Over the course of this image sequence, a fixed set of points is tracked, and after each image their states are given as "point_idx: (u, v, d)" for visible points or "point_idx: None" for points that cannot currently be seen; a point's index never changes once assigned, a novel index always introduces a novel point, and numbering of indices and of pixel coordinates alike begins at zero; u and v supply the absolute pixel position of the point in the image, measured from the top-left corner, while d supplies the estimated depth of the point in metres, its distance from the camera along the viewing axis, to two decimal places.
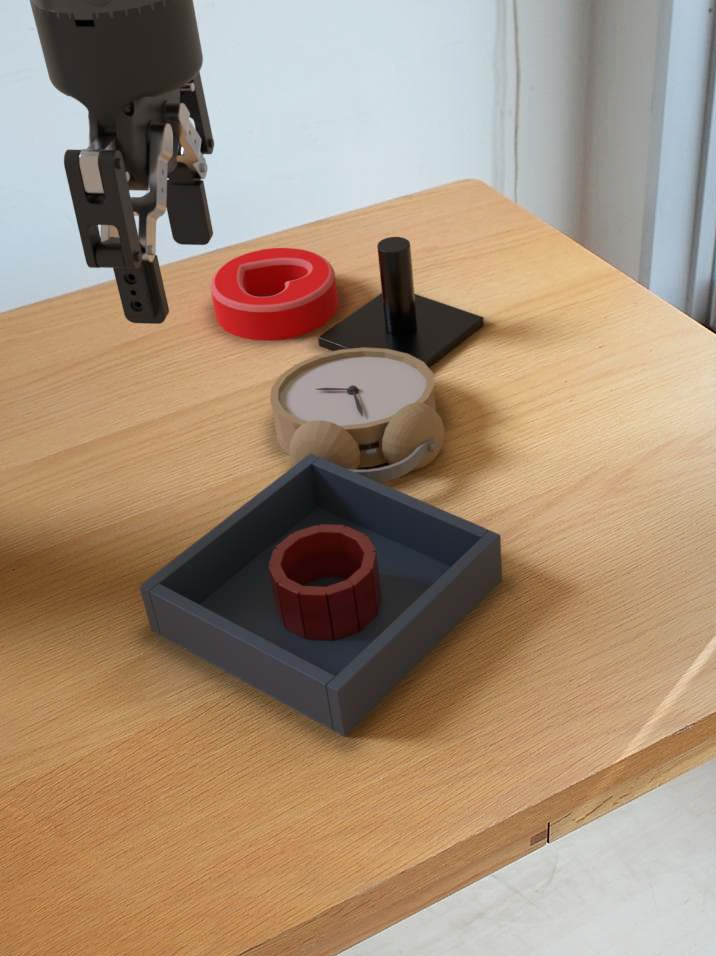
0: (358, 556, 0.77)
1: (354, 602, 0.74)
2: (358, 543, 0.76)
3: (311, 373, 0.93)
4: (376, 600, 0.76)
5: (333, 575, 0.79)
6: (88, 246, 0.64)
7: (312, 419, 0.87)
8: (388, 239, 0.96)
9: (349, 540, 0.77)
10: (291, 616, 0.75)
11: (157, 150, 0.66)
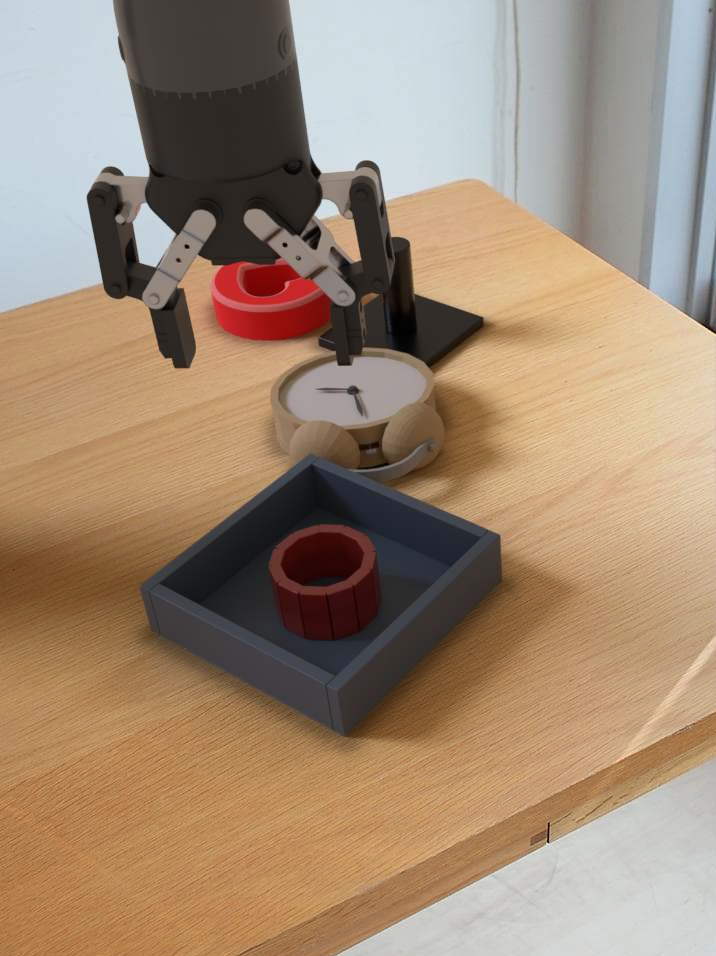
0: (358, 556, 0.77)
1: (354, 602, 0.74)
2: (358, 543, 0.76)
3: (311, 373, 0.93)
4: (376, 600, 0.76)
5: (333, 575, 0.79)
6: None
7: (312, 419, 0.87)
8: None
9: (349, 540, 0.77)
10: (291, 616, 0.75)
11: (184, 224, 0.62)
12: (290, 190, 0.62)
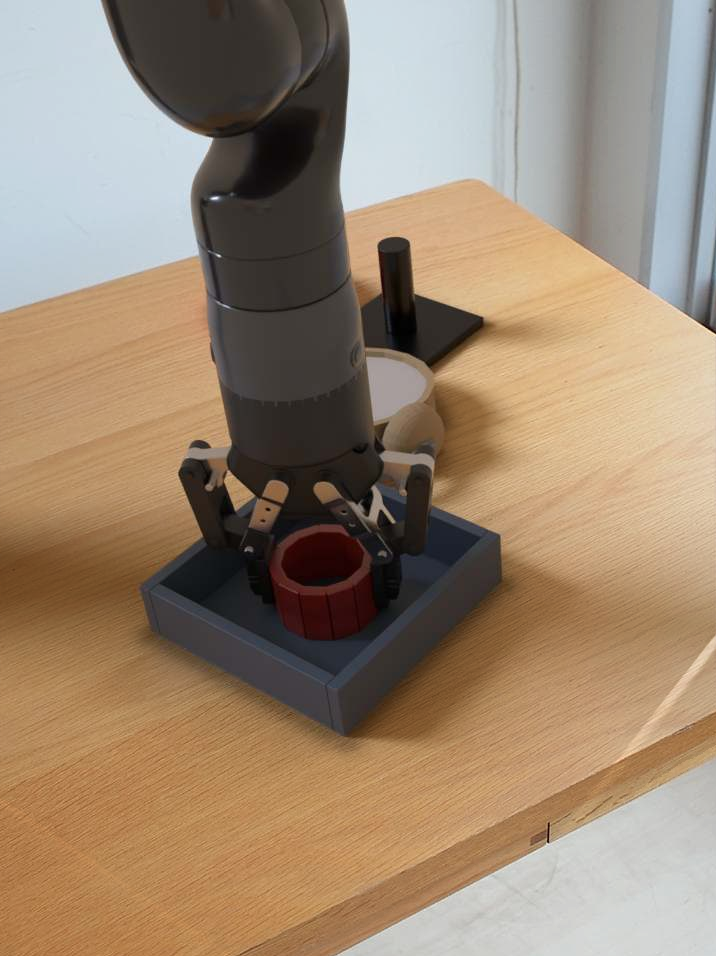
0: (358, 556, 0.77)
1: (354, 602, 0.74)
2: (358, 543, 0.76)
3: None
4: None
5: (333, 575, 0.79)
6: None
7: None
8: (388, 239, 0.96)
9: (349, 540, 0.77)
10: (291, 616, 0.75)
11: (262, 492, 0.70)
12: (355, 466, 0.69)
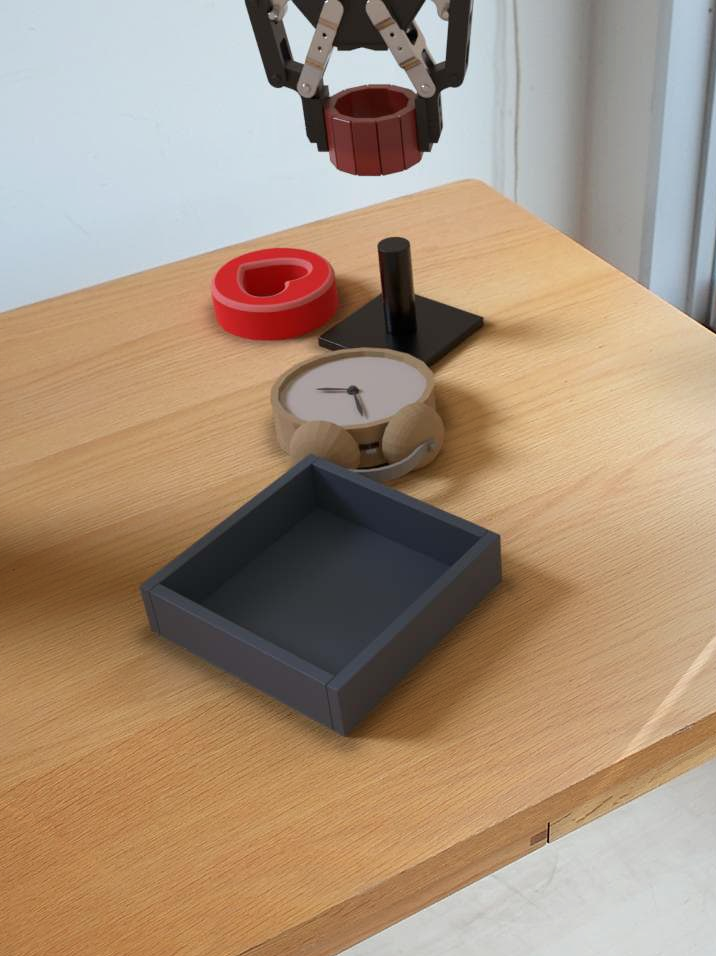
0: None
1: (400, 136, 0.82)
2: (403, 94, 0.85)
3: (311, 373, 0.93)
4: None
5: None
6: None
7: (312, 419, 0.87)
8: (388, 239, 0.96)
9: (395, 95, 0.85)
10: (343, 152, 0.83)
11: (320, 16, 0.79)
12: None
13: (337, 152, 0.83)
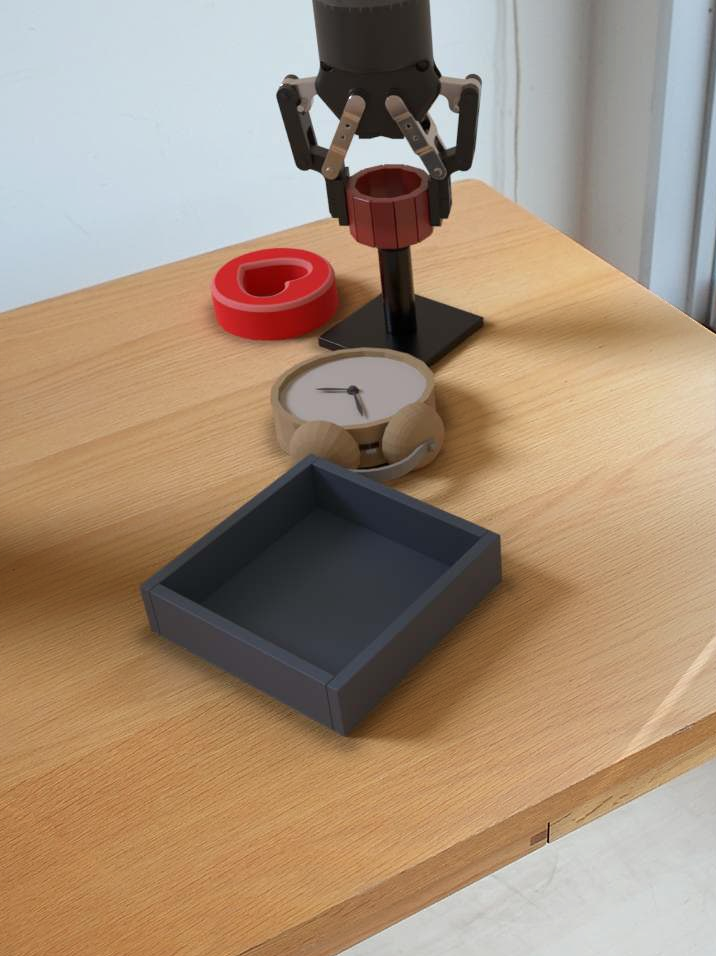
0: (416, 189, 0.95)
1: (414, 213, 0.92)
2: (416, 174, 0.94)
3: (311, 373, 0.93)
4: None
5: None
6: None
7: (312, 419, 0.87)
8: None
9: (409, 174, 0.94)
10: (363, 227, 0.92)
11: (343, 109, 0.88)
12: (419, 83, 0.87)
13: (357, 227, 0.93)
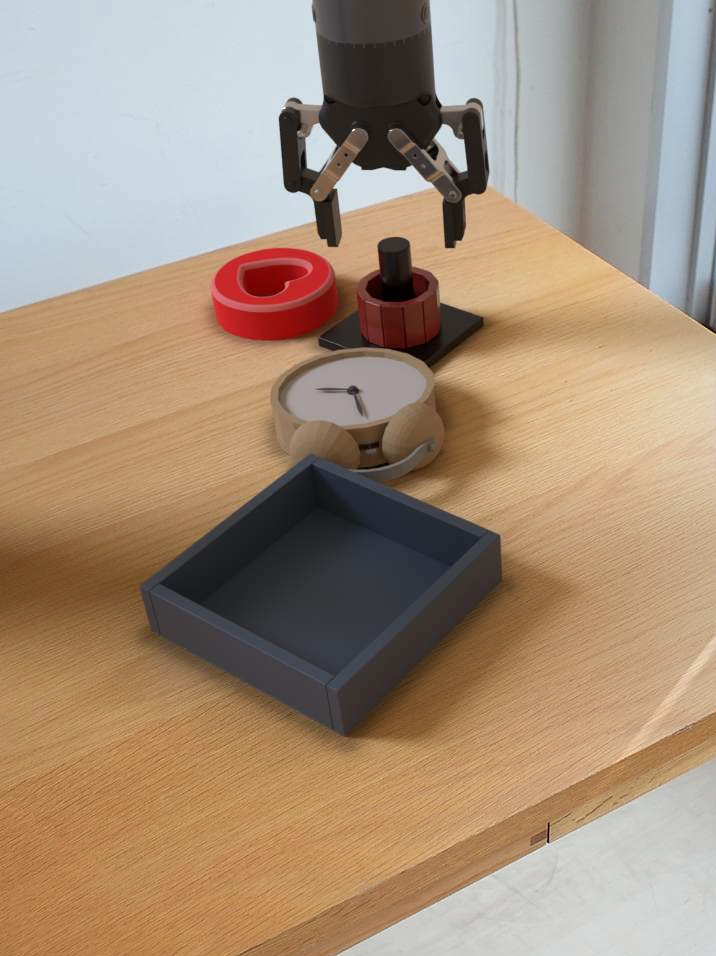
0: (423, 290, 1.00)
1: (422, 316, 0.97)
2: (424, 277, 0.99)
3: (311, 373, 0.93)
4: (438, 320, 0.99)
5: None
6: None
7: (312, 419, 0.87)
8: (388, 239, 0.96)
9: (417, 276, 1.00)
10: (374, 328, 0.98)
11: (345, 139, 0.89)
12: (421, 116, 0.88)
13: (368, 328, 0.98)
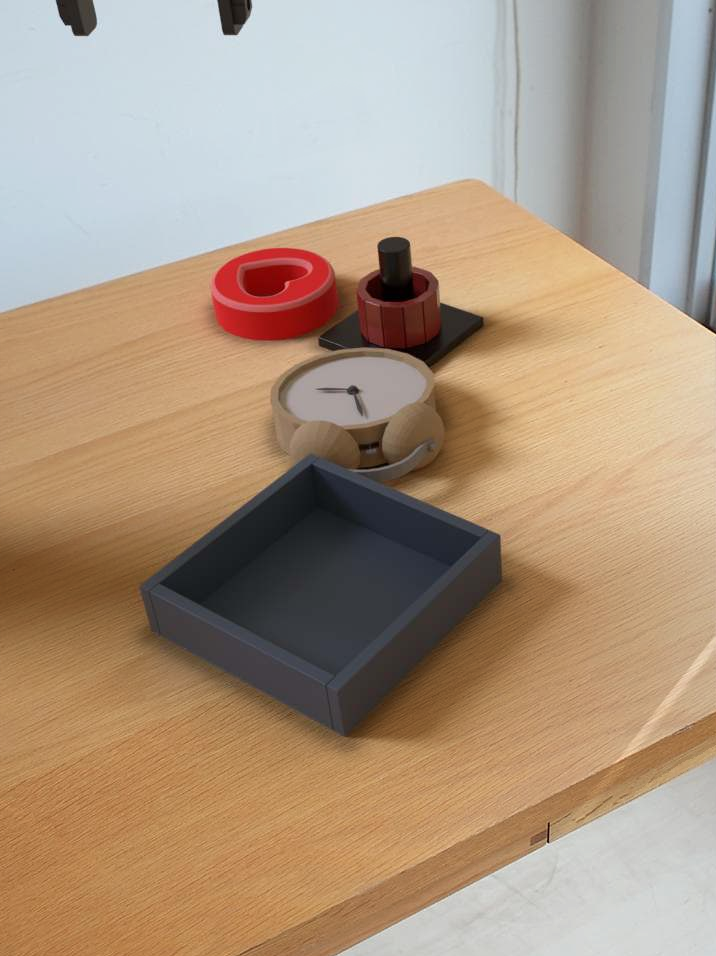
0: (423, 290, 1.00)
1: (422, 316, 0.97)
2: (424, 277, 0.99)
3: (311, 373, 0.93)
4: (438, 320, 0.99)
5: None
6: None
7: (312, 419, 0.87)
8: (388, 239, 0.96)
9: (417, 276, 1.00)
10: (374, 328, 0.98)
11: None
12: None
13: (368, 328, 0.98)
